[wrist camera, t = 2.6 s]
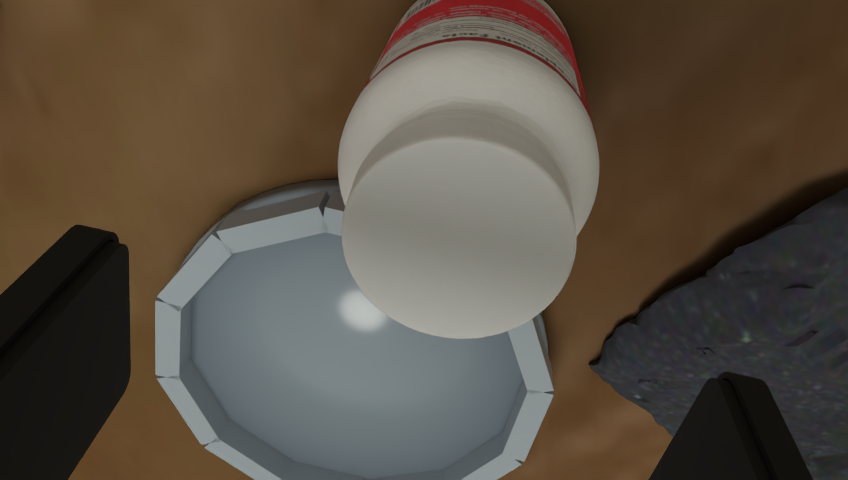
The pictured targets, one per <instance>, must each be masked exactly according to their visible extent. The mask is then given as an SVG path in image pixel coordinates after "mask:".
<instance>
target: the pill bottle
mask: <svg viewBox="0 0 848 480" xmlns="http://www.w3.org/2000/svg"><path fill="white" fill-rule="evenodd" d="M338 178H339V185H340V191H341V195H342V198H343V202H344V204H345V209H344V213H343V219H342V229H341V234H342V245H343V252H344V256H345V260H346V263H347V266H348V268H349V270H350V272H351V275H352V277H353V278H354V280H355V282H356V283H357V285H358V286H359V288H360V289H361V291H362V292H363V293H364V295H365V296H366V297H367V298H368V299H369V300H370V301H371V302H372V303H373V304H374V305H375V306H376V307H377V308H378V309H379V310H381V311H382V312H383V313H385V314H386V315H388V316H389V317H390V318H392V319H393V320H395V321H397V322H399V323H401V324H403V325H405V326H407V327H409V328H411V329H414V330H417V331H419V332H422V333H426V334H429V335H433V336H439V337H445V338H455V339H470V338H482V337H487V336H492V335H496V334H500V333H503V332H506V331H509V330H511V329H514V328H516V327H518V326H521V325H522V324H524V323H526V322H528V321H530V320H531V319H533V318H534V317H535V316H537V315H538V314H539V313H541V312H542V311H543V310H544V309H546V308H547V306H548V305H549V304H550V303H551V302H552V301H553V300H554V299H555V297H556V296H557V295H558V294H559V293H560V291H561V289H562V288H563V286H564V284H565V282H566V281H567V279H568V277H569V274H570V272H571V269H572V266H573V263H574V259H575V254H576V237H577V236H578V234H579V232H580V231H581V229H582V228H583V226H584V224H585V222H586V221H587V219H588V216H589V214H590V212H591V209H592V207H593V204H594V201H595V197H596V193H597V188H598V181H599V153H598V147H597V141H596V136H595V132H594V127H593V123H592V119H591V116H590V112H589V108H588V104H587V100H586V96H585V92H584V89H583V85H582V81H581V77H580V73H579V70H578V66H577V62H576V59H575V55H574V51H573V48H572V44H571V42H570V39H569V36H568V34H567V32H566V29H565V28H564V26H563V24H562V22H561V21H560V19H559V18H558V16H557V15H556V13H555V12H554V11H553V10H552V9H551V7H550V6H549V5H548V4H547V3H546V2H545V1H544V0H418V1H417V2H415V3H414V4H413V5H412V6H411V7H410V9H409V10H408V11H407V12H406V13H405V15H404V16H403V17H402V19H401V20H400V22H399V23H398V25H397V26H396V28H395V30H394V32H393V33H392V35H391V37H390V39H389V41H388V44H387V45H386V47H385V49H384V51H383V53H382V55H381V57H380V59H379V61H378V63H377V64H376V66H375V68H374V70H373V72H372V74H371V76H370V78H369V79H368V81H367V83H366V85H365V87H364V88H363V90H362V92H361V94H360V95H359V97H358V99H357V101H356V103H355V104H354V106H353V108H352V110H351V112H350V114H349V116H348V119H347V122H346V124H345V127H344V130H343V133H342V137H341V140H340V145H339V154H338Z"/></svg>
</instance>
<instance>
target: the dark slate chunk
mask: <svg viewBox="0 0 848 480" xmlns="http://www.w3.org/2000/svg"><path fill="white" fill-rule="evenodd" d="M589 366H590V367H591V369H592V370H593V371H595V372H596V373H597V374H598V375H599V376H600V377H601V378H602V379H603V380H604V381H605V382H607V383H609V384H610V385H611V386H612V387H613V388H614V390H615V391H616V392H618V393H619V394H620V395H622V396H623V397H625V398H626V399H628V400H630V401H632V402H633V403H635V404H637V405H638V406H640V407H641V408H643V409H645V410H646V411H648V412H649V413H650V414H652V416H653V417H654V419H655V421H656V422H657V423H658V424H659V425H661V426H663V427H664V428H665V429H666V430H667V431H668V432H669V433H670V434H671V435H672V436H673V437H674V436H675V434H676V432H677V430H678V429H679V427H680V425H681V424H682V422H683V420H684V418H685V417H686V415H687V413H688V412H689V410H690V408H691V406H692V405H693V403H694V401H695V400H696V398H697V396H698V394H699V393H700V391H701V389H702V388H703V386H704V384H705V383H706V381H707V380H708V379H710V378H717V377H718V376H719V375H720V374H721V373H723V372H732V373H737V374H741V375H745V376H750V377H754V378H759V379H761V380H763V381H765V383H766V384H767V386H768V388H769V390H770V392H771V394H772V396H773V398H774V400H775V402H776V404H777V406H778V408H779V410H780V412H781V414H782V416H783V419H784V421H785V423H786V425H787V427H788V429H789V431H790V433H791V435H792V437H793V439H794V441H795V443H796V445H797V447H798V449H799V451H800V454H801V456H802V458H803V460H804V462H805V464H806V466H807V468H808V470H809V472H810V474H811V476H812V478H813V480H848V188H845V189H843V190H841V191H839V192H837V193H836V194H834V195H832V196H831V197H829V198H826V199H824V200H822V201H820V202H819V203H817V204H815V205H814V206H812V207H811V208H809V209H808V210H806V211H804V212H803V213H801V214H799V215H798V216H796V217H795V218H794V219H792V220H791V221H789V222H787V223H785V224H783V225H782V226H780V227H778V228H776V229H774V230H772V231H770V232H769V233H767V234H766V235H764V236H763V237H761V238H759V239H757V240H756V241H754V242H752V243H750V244H747V245H744V246H741V247H738V248H736V249H735V251H734V253H733V254H732V255H730V256H728V257H726V258H724V259H722V260H721V261H720V262H719V263H718V264H717V265H716V266H714V267H713V268H711V269H709V270H707V271H706V274H705V275H703V276H701V277H699V278H697V279H695V280H693V281H691V282H687V283H684V284H681V285H679V286H676V287H675V288H673V289H671V290H669V291H667V292H665V293H663V294H662V295H661V296H660V297H659V298H658V299H657V300H656V301H655V302H654V303H653V304H652V305H650V306H648V307H646V308H645V309H644V310H643V311H641V312H640V313H639V315H638V316H637V317H636V318H634V319H632V320H629V321H627V322H625V323H624V324H622V325H621V326H619V327H617V328H616V329H615V331H614V333H613V335H612V337H611V338H610V339H608V340H607V341H606V342H605V343H604V345H603V349H602V355H601V358H600V360H597V361H594V362H592V363H590V364H589Z"/></svg>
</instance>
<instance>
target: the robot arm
mask: <svg viewBox="0 0 848 480" xmlns="http://www.w3.org/2000/svg"><path fill="white" fill-rule="evenodd" d="M130 372H131V360H130V300H129V252H128V248H127V246H126V245H125V244H120V243H119V239H118V237H117V234H115V233H114V232H109V231H105V230H101V229H96V228H92V227H87V226H83V225H75V226H73V227H72V228H70V229H69V230H68V231H67V232H66V233H65V234H64V235H63V236H62V237H61V238H60V239H59V240H58V241H57V242H56V243H55V244H54V245H52V246H51V247H50V248H49V249H48V250H47V251H46V252H45V253H44V254H43V255H42V256H41V257H40V258H39V259H38V260H37V261H36V262H35V263H34V264H33V265H31V266H30V267H29V268H28V269H27V270H26V271H25V272H24V273H23V274H22V275H21V276H20V277H19V278H18V279H17V280H16V281H15V282H14V283H13V284H12V285H10V286H9V287H8V288H7V289H6V290H5V291H4V292H3V293H2V294H1V295H0V480H68V478H69V477H70V475H71V474H72V472H73V471H74V469H75V468H76V466H77V464H78V463H79V461H80V460H81V458H82V457H83V455H84V454H85V452H86V451H87V449H88V448H89V446H90V445H91V443H92V441H93V440H94V438H95V437H96V435H97V434H98V432H99V431H100V429H101V428H102V426H103V425H104V423H105V422H106V420H107V418H108V417H109V415H110V414H111V412H112V411H113V409H114V408H115V406H116V405H117V403H118V402H119V400H120V399H121V397H122V395H123V394H124V392H125V390H126V388H127V385H128V382H129V378H130ZM649 480H813V478H812V476H811V474H810V472H809V470H808V468H807V466H806V464H805V462H804V460H803V458H802V456H801V454H800V451H799V449H798V447H797V445H796V443H795V441H794V439H793V437H792V435H791V433H790V431H789V429H788V427H787V425H786V423H785V421H784V419H783V416H782V414H781V412H780V410H779V408H778V406H777V404H776V402H775V400H774V398H773V396H772V394H771V392H770V390H769V388H768V386H767V384H766V383H765V381H763V380H761V379H759V378H754V377H750V376H745V375H741V374H737V373H732V372H723V373H721V374H720V375H719V376H718V377H717V378H710V379H708V380H707V381H706V383H705V384H704V386H703V388H702V389H701V391H700V393H699V394H698V396H697V398H696V400H695V401H694V403H693V405H692V406H691V408H690V410H689V412H688V413H687V415H686V417H685V418H684V420H683V422H682V424H681V425H680V427H679V429H678V430H677V432H676V434H675V436H674V437H673V439H672V441H671V442H670V444H669V446H668V448H667V449H666V451H665V453H664V454H663V456H662V458H661V460H660V461H659V463H658V465H657V466H656V468H655V470H654V472H653V473H652V475H651V477H650V478H649Z"/></svg>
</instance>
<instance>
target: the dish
mask: <svg viewBox="0 0 848 480" xmlns="http://www.w3.org/2000/svg"><path fill="white" fill-rule="evenodd" d="M344 209H345V204H344V202H343V198H342V195H341V191H340V185H339V179H330V180H312V181H306V182H300V183H295V184H289V185H284V186H281V187H278V188H275V189H272V190H269V191H266V192H263V193H260V194H258V195H256V196H254V197H252V198H250V199H248V200H246V201H244V202H242V203H240V204H238V205H237V206H235V207H234V208H232V209H231V210H230V211H228V212H227V213H225V214H224V215H222V216H221V217H220V218H219V219H218V220H217V221H216V222H215V223H214V224H213V225H212V226H211V227H210V228H209V229H208V230H206V231H205V233H204V234H203V236H202V237H201V238H200V240H199V241H198V242H197V244H196V245H195V246H194V248H193V249H192V251H191V252H190V253H189V255H188V256H187V257H186V259H185V260H184V262H183V263H182V264H181V266H180V268H179V269H178V270H177V271H176V272H175V273H174V275H173V276H172V277H171V278H170V279H169V281H168V282H167V283H166V285H165V286H164V287H163V289H162V290H161V292H160V293H159V294H158V296H157V297H158V298H157V299H156V300H155V350H156V375H159V376H158V378H157V380H158V381H159V383H160V384H161V386H162V387H163V389H164V390H165V392H166V393H167V395H168V396H169V398H170V399H171V401H172V402H173V404H174V405H175V406H176V408H177V409H178V411H179V412H180V414H181V415H182V417H183V418H184V420H185V421H186V423H187V424H188V426H189V427H190V429H191V430H192V432H193V433H194V435H195V436H196V438H197V439H198V441H199V442H200V444H206V446H205V448H206V449H207V450H209V451H210V452H212V453H214V454H215V455H217V456H218V457H220V458H221V459H223V460H225V461H226V462H228V463H229V464H231V465H232V466H234V467H236V468H237V469H239V470H240V471H242V472H243V473H245V474H247V475H248V476H250V477H251V478H253V479H254V480H497V479H499V478H500V477H502V476H504V475H505V474H507V473H509V472H510V471H512V470H513V469H515V468H517V467H518V466H520V465H522V461H525V459H526V457H527V454H528V452H529V450H530V448H531V445H532V443H533V441H534V439H535V436H536V434H537V432H538V429H539V427H540V425H541V423H542V420H543V418H544V416H545V414H546V411H547V409H548V407H549V405H550V402H551V400H552V398H553V395H554V392H553V391H554V384H553V369H552V366H551V363H550V359H549V356H548V343H547V331H546V326H545V321H544V316H543V311H542V312H541V313H539V314H538V315H537V316H535V317H534V318H533V319H531V320H530V321H528V322H526V323H524V324H522V325H521V326H518V327H516V328H514V329H511V330H509V331H506V332H503V333H500V334H496V335H492V336H487V337H482V338H470V339H455V338H445V337H439V336H433V335H429V334H426V333H422V332H419V331H417V330H414V329H411V328H409V327H407V326H405V325H403V324H401V323H399V322H397V321H395V320H393V319H392V318H390V317H389V316H388V315H386V314H385V313H383V312H382V311H381V310H379V309H378V308H377V307H376V306H375V305H374V304H373V303H372V302H371V301H370V300H369V299H368V298H367V297H366V296H365V295H364V293H363V292H362V291H361V289H360V288H359V286H358V285H357V283H356V282H355V280H354V278H353V277H352V275H351V272H350V270H349V268H348V266H347V263H346V260H345V256H344V252H343V245H342V234H341V229H342V219H343V213H344Z"/></svg>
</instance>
